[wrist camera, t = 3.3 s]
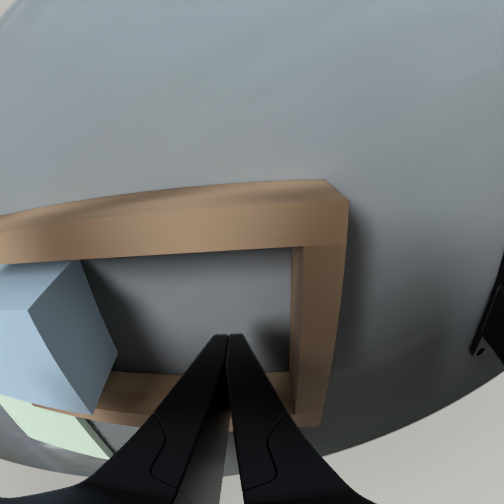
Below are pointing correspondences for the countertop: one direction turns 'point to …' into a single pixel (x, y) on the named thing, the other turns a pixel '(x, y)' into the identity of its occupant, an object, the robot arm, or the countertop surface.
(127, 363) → the countertop surface
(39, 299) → the block
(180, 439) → the robot arm
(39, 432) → the mat
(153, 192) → the u-shaped frame
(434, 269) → the countertop surface
